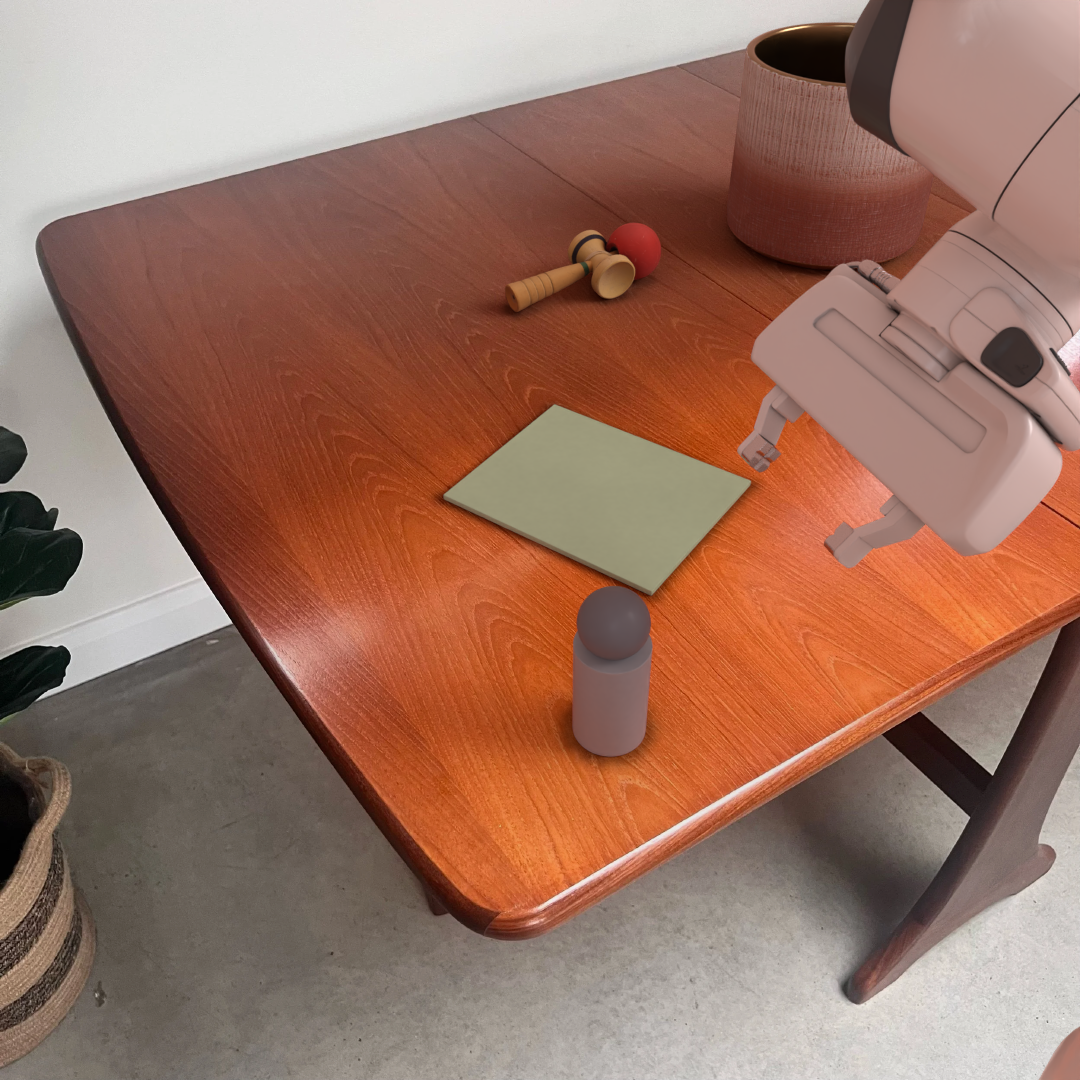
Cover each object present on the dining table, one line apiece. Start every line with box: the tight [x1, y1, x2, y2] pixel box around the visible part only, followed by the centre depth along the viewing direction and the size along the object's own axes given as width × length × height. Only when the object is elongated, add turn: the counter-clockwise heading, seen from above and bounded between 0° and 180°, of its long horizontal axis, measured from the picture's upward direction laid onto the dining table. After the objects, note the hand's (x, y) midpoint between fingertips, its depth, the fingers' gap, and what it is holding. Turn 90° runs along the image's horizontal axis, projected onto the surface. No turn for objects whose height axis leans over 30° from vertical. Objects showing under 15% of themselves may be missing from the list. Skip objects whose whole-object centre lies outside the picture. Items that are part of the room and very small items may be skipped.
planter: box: [726, 21, 935, 271], centre depth 115 cm, size 22×22×20 cm
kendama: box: [504, 222, 662, 313], centre depth 111 cm, size 8×6×18 cm
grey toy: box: [572, 585, 654, 757], centre depth 64 cm, size 5×5×12 cm
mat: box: [443, 403, 752, 596], centre depth 86 cm, size 20×16×1 cm
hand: (789, 507), depth 61 cm, fingers open, 8 cm apart
